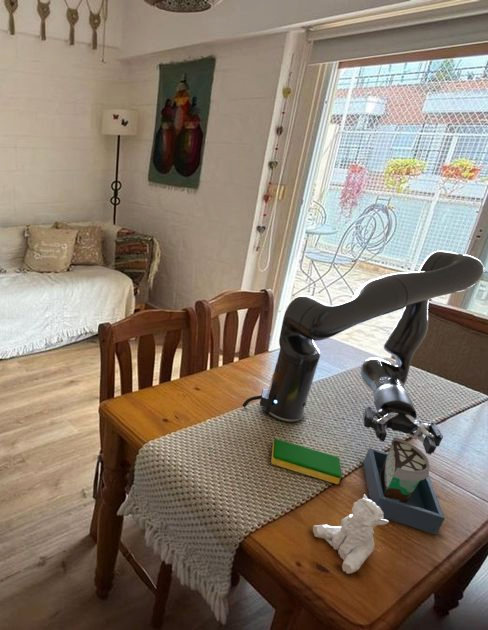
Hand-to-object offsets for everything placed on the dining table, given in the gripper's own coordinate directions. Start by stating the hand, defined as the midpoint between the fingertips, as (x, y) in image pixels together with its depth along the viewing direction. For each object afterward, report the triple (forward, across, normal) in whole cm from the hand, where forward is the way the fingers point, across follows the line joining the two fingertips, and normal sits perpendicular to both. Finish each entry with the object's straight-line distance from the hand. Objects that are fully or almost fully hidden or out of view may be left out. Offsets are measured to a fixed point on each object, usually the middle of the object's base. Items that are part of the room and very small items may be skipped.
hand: (406, 444), depth 95 cm
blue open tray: (+5, 0, +10) cm, 11 cm away
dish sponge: (+4, -18, +10) cm, 21 cm away
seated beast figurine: (+25, -11, +10) cm, 29 cm away
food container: (+5, 0, +10) cm, 11 cm away
